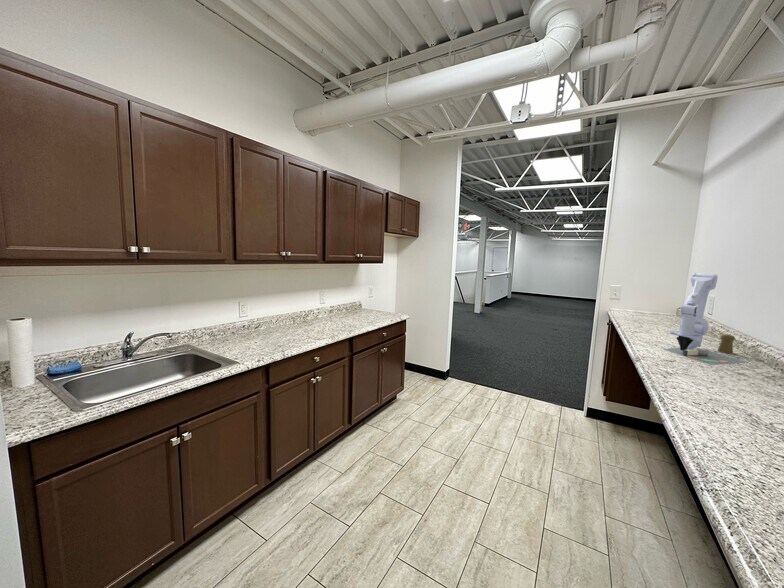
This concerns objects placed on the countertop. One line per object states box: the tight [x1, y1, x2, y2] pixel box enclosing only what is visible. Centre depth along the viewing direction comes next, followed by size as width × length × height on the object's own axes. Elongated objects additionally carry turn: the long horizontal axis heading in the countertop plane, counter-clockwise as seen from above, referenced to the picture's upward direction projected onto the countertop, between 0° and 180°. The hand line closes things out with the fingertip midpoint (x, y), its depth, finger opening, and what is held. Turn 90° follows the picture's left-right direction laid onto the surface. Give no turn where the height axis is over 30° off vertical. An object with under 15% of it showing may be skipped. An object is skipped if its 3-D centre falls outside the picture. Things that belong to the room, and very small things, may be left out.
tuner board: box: [662, 347, 749, 366], centre depth 164 cm, size 24×23×1 cm
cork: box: [717, 333, 736, 354], centre depth 170 cm, size 6×6×11 cm
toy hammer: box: [683, 346, 709, 356], centre depth 164 cm, size 14×6×4 cm, turn 100°
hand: (683, 350), depth 169 cm, fingers closed
